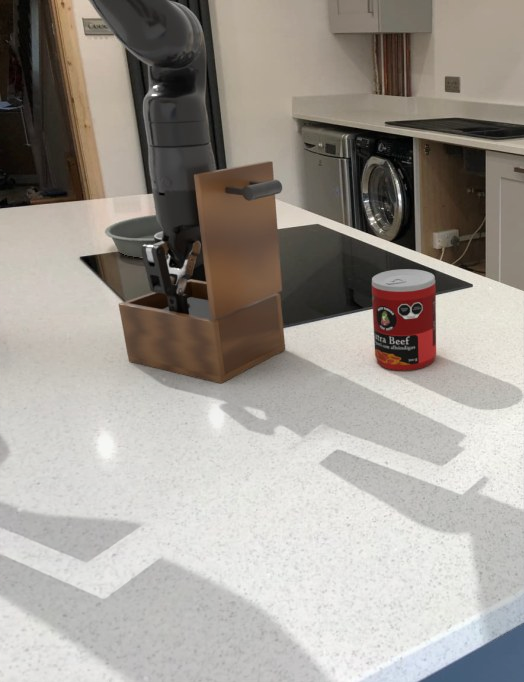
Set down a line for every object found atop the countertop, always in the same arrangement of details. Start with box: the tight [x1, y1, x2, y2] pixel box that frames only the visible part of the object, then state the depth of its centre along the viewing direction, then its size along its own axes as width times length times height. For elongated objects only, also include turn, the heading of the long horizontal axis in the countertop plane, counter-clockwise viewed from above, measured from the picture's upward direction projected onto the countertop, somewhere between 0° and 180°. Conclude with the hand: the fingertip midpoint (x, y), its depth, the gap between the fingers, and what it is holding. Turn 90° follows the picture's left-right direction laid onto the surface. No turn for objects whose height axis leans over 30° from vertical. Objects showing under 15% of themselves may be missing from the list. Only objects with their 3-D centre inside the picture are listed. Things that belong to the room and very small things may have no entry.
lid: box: [194, 160, 283, 319], centre depth 86 cm, size 16×12×5 cm
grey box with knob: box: [162, 297, 214, 319], centre depth 94 cm, size 10×6×4 cm, turn 63°
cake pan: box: [104, 214, 163, 258], centre depth 151 cm, size 25×25×4 cm
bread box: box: [118, 279, 286, 384], centre depth 95 cm, size 16×12×8 cm
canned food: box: [371, 268, 437, 371], centre depth 92 cm, size 8×8×11 cm
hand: (202, 313), depth 94 cm, fingers open, 6 cm apart
